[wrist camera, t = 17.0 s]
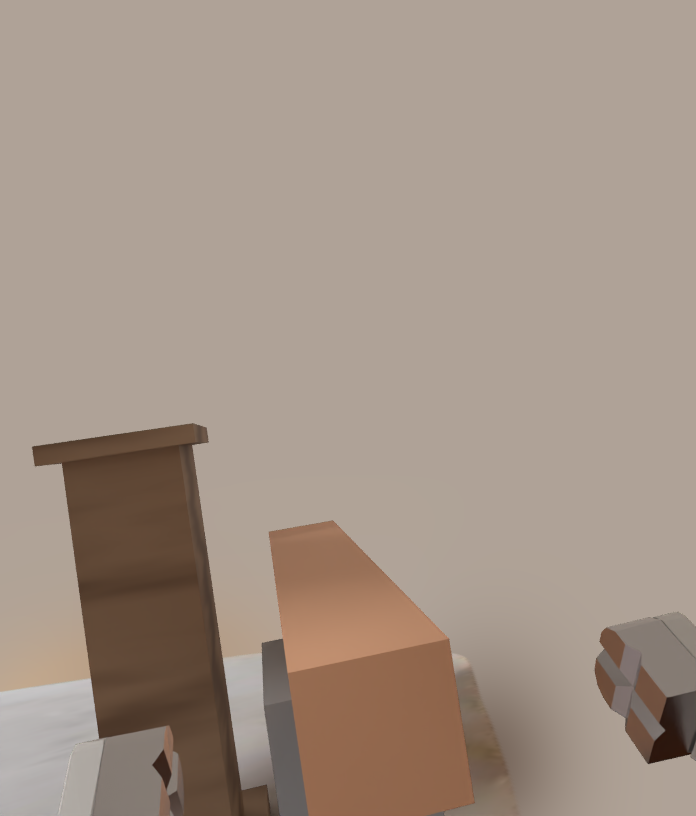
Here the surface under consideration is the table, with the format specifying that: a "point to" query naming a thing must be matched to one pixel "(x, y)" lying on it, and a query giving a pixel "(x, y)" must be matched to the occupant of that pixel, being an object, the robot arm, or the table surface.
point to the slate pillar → (284, 732)
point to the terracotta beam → (366, 683)
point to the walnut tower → (153, 604)
